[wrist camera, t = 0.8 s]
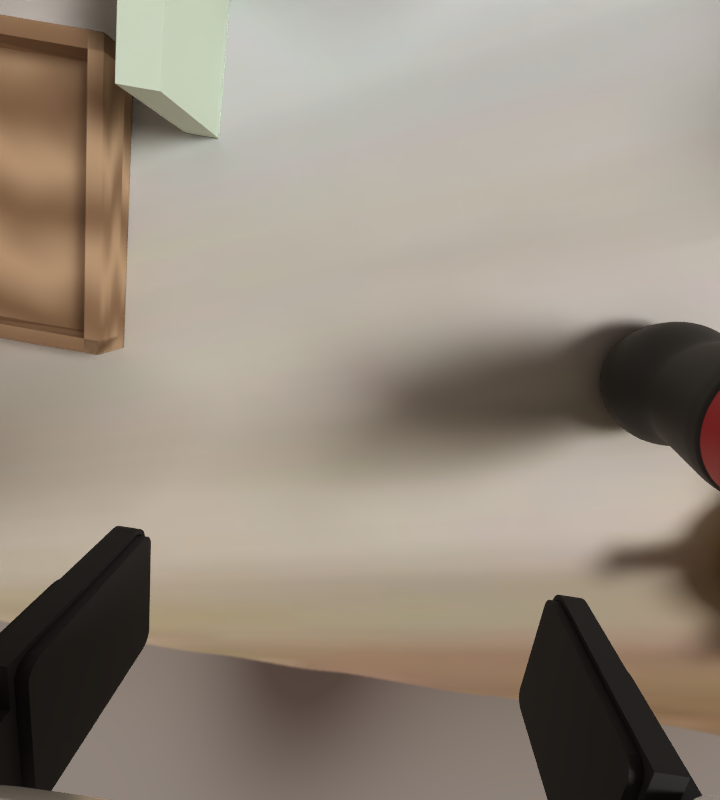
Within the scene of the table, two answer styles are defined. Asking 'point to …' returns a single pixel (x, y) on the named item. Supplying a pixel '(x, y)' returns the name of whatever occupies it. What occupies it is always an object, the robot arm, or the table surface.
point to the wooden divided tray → (62, 187)
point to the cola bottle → (669, 391)
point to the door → (174, 59)
